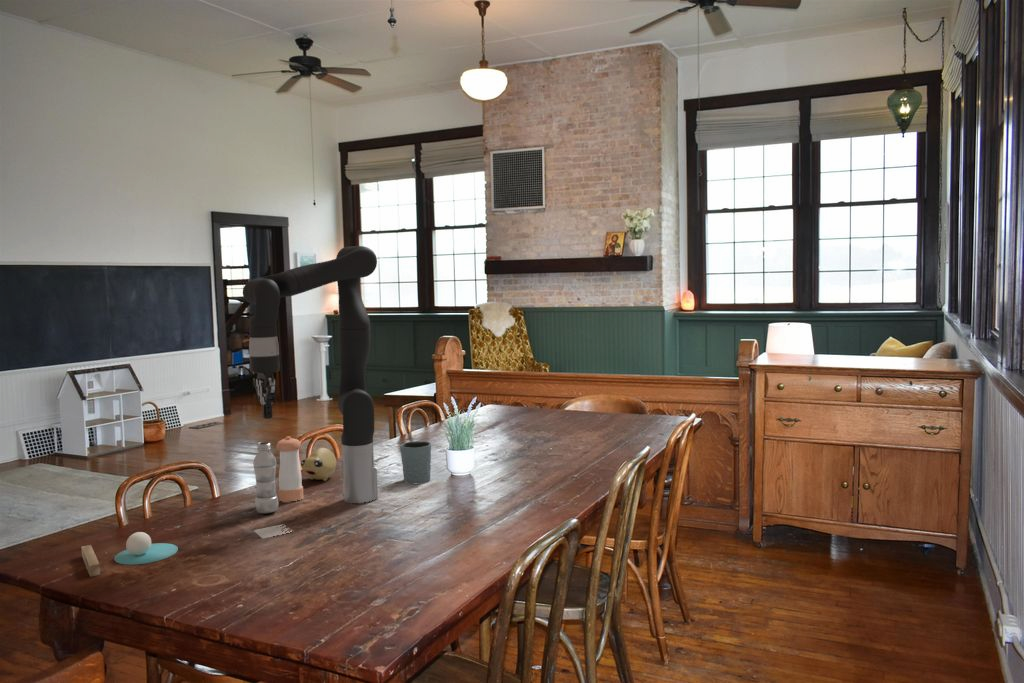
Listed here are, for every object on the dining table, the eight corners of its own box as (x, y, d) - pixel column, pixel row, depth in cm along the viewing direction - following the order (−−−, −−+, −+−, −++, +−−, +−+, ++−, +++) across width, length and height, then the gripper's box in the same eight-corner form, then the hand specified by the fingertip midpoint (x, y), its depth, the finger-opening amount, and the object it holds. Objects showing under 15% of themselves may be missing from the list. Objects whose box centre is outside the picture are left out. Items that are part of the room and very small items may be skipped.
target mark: (171, 540, 196) (171, 539, 196) (183, 555, 184) (183, 554, 184) (110, 552, 188) (110, 551, 188) (119, 569, 176) (119, 568, 176)
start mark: (283, 524, 206) (283, 524, 206) (293, 532, 200) (293, 531, 200) (253, 530, 202) (253, 530, 202) (262, 539, 195) (262, 538, 195)
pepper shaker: (273, 500, 229) (270, 437, 228) (290, 494, 236) (287, 433, 234) (291, 503, 226) (288, 439, 224) (308, 497, 232) (305, 435, 231)
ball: (128, 553, 187) (152, 545, 190) (129, 562, 183) (154, 554, 185) (123, 532, 186) (147, 525, 188) (124, 541, 181) (149, 533, 184)
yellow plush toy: (295, 483, 248) (294, 451, 248) (316, 474, 260) (315, 443, 259) (322, 485, 245) (320, 453, 244) (342, 476, 257) (340, 445, 256)
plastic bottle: (254, 517, 214) (251, 446, 212) (256, 510, 220) (252, 441, 219) (278, 514, 215) (275, 444, 214) (279, 508, 222) (276, 440, 220)
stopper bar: (91, 554, 186) (90, 544, 186) (100, 574, 173) (99, 564, 173) (82, 556, 185) (81, 546, 185) (90, 576, 172) (89, 566, 172)
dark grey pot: (417, 486, 243) (415, 448, 242) (394, 481, 249) (393, 445, 248) (438, 479, 251) (437, 442, 250) (416, 474, 257) (415, 439, 256)
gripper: (286, 354, 201) (289, 419, 202) (270, 351, 211) (273, 413, 213) (257, 356, 196) (260, 423, 198) (242, 353, 207) (246, 416, 209)
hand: (267, 418), depth 205 cm, fingers closed
